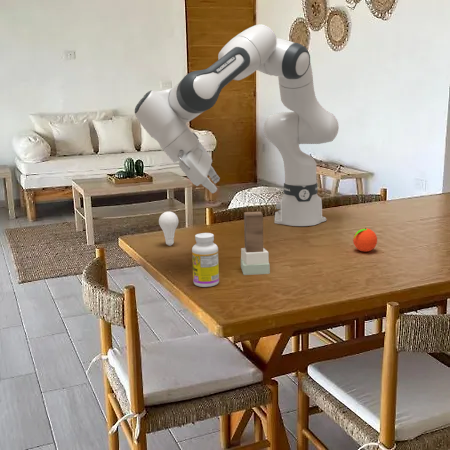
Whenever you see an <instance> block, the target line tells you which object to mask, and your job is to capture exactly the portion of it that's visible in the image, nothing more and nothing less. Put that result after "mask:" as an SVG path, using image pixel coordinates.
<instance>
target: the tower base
mask: <svg viewBox="0 0 450 450" xmlns="http://www.w3.org/2000/svg"><path fill="white" fill-rule="evenodd" d="M240 268H241V271H242V275H243V276H252V275H268V274H269V275H270V274H271V267H270V262H269V263H263V264H252V265H246V263H245V262H244V261H243V260H242V259H241V258H240Z"/></svg>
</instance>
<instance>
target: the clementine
mask: <svg viewBox="0 0 450 450" xmlns="http://www.w3.org/2000/svg"><path fill="white" fill-rule="evenodd" d="M352 238H353V239H352V242H353V245H354V246H355V248H356V249H357V250H358V251H360V252H364V253H367V252H371V251H372V250H373V249H375V248H376V246H377V244H378V236H377V234H376V232H375V231H374V230H372V229H370V228H367V227H365V228H364V227H363V228H360V229H359V230H357V231H356V232H355V234H354V235H353V237H352Z"/></svg>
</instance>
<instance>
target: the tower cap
mask: <svg viewBox="0 0 450 450" xmlns="http://www.w3.org/2000/svg"><path fill="white" fill-rule="evenodd" d="M240 251H241V252H240V260H241V259H242V260H243V261H244V262H245V263H246V265H252V264H263V263H269V264H270V262H269V260H270V259H269V255H270V254H269V251H268V250H267V249H266V248H264V247H263V252H246V250H245V247H242V248H240Z"/></svg>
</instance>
